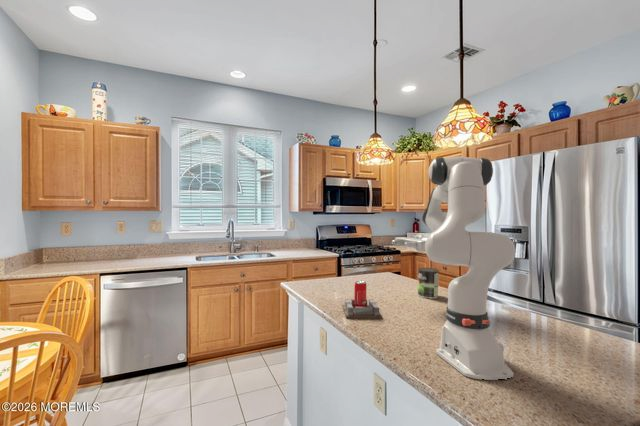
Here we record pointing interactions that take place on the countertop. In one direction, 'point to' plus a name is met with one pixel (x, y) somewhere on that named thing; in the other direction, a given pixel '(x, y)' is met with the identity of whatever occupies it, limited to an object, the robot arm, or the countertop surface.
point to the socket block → (361, 310)
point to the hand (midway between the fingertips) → (399, 243)
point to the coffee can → (428, 283)
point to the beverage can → (360, 294)
